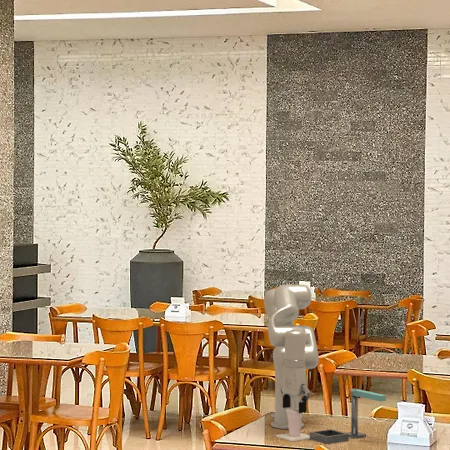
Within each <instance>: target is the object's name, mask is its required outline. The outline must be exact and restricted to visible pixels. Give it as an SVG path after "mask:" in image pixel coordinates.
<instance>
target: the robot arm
mask: <svg viewBox="0 0 450 450" xmlns="http://www.w3.org/2000/svg"><path fill="white" fill-rule="evenodd" d="M311 303H312V292H311V289H310V288H309V286H308V285H305V284H282V285H279V286H278V287H276V288H272V289H268V290H267V291H266V292H265V293H264V296H263V305H264V309H265V312H266V315H267V318H268V319H269V320H268V324H267V333H268V338H269V342H270V344H271V345H272V347H274V349H273V352H272V358H273V367H274V378H275V381H274V382H275V383H274V384H275V385H274V387H275V388H274V389H275V393H274V394H275V395H274V397H275V398H274V400H275V402H274V404H275V405H274V409H275V410H274V413H272V414H271V418H272V419H273V420H274V421H272V422H271V424H270V425H271V427H272V428H275V429H280V430H289V425H288V417H287V412H286V409H288V408H293V398H294V408H299V413H303V414H304V413H307V409H308V407H307V406H308V405H307V404H308V403H307V402H309V401H308V400H309V399H310V395H311V391H310V390H309V388H308V386H307V384H308V383H307V374H306V370H311V369H315V368H317V366H318V365H319V352H318V351H319V350H318V345H317V341H316V336H315V332H314V329H313V328H312V327H311V326H308V325H294V321H296V320H297V318H298V317H299V315H300V310H305V309H306V308H308V307H309V306H310V304H311ZM303 427H305V424H304V422H303V421H302V422H301V429H302V428H303Z"/></svg>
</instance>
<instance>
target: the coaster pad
mask: <svg viewBox="0 0 450 450" xmlns="http://www.w3.org/2000/svg"><path fill="white" fill-rule="evenodd" d="M275 437H276V438H279V439H282V440H285V441H288V442H299V441H300V442H301V441H305V440H311V439H310V434H306V433H303V432H300V436H299V437H291V436H290V434H289V432H287V433H280V434H275Z"/></svg>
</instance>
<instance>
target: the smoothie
mask: <svg viewBox="0 0 450 450" xmlns="http://www.w3.org/2000/svg"><path fill="white" fill-rule="evenodd" d="M286 412H287V417H288V425H289V429H288V431H289V432H288V433H289V434H290V436H291V437H299V436H300V433H301V429H302V428H301V422H303V414H304V413H299V408H294V398H293V408H288V409H286Z"/></svg>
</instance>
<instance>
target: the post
mask: <svg viewBox="0 0 450 450" xmlns="http://www.w3.org/2000/svg"><path fill="white" fill-rule="evenodd" d="M350 396H351V397H350V399H351V400H350V402H351V403H350V404H351V405H350V406H351V409H350V410H351V411H350V412H351V413H350V414H351V415H350V419H351V420H350V422H351V423H350V424H351V426H350V430H351V431H349V432H348V431H346V433H347V434H349V438H350V439H359V438H366V437H367V434H366V433H364V432H359V420H358V419H359V397H358V396H354V395H351V394H350Z"/></svg>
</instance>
